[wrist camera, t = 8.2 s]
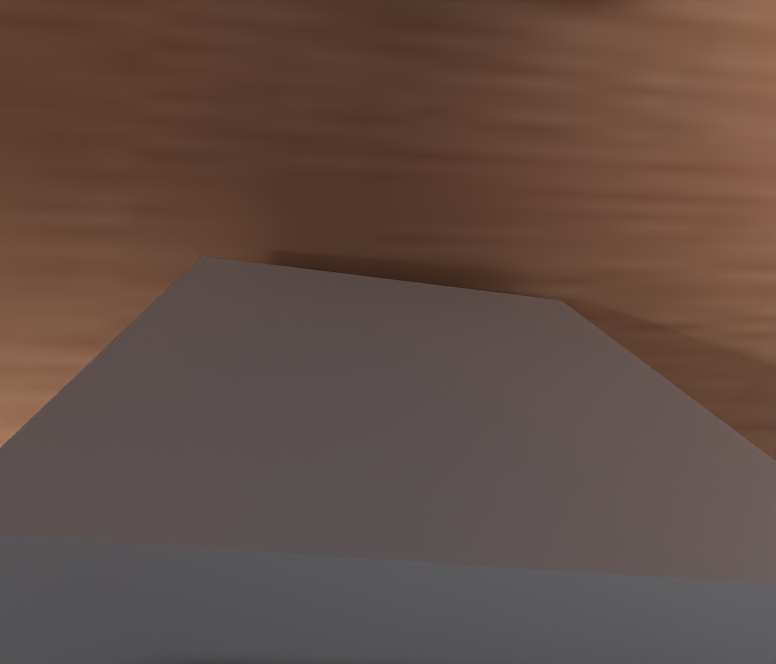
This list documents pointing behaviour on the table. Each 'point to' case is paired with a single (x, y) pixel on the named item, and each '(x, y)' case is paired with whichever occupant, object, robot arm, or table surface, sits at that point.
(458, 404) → the gray foam cube
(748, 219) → the table surface
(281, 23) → the table surface
